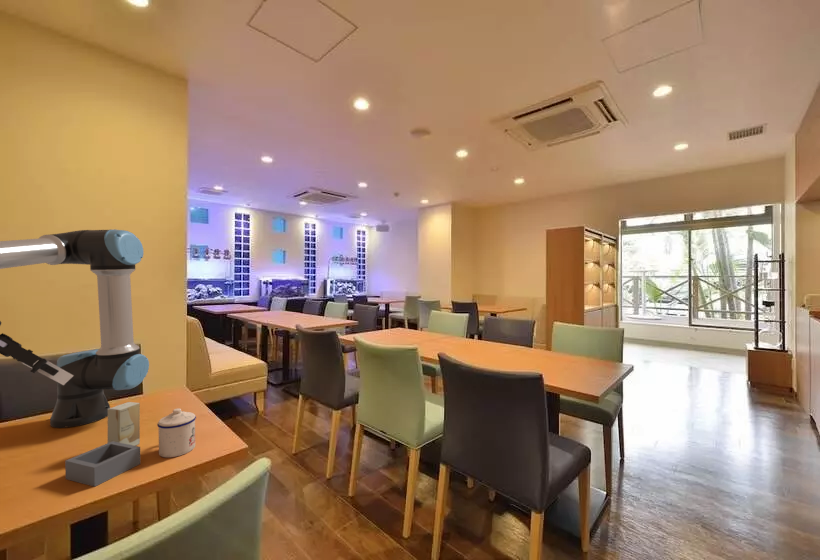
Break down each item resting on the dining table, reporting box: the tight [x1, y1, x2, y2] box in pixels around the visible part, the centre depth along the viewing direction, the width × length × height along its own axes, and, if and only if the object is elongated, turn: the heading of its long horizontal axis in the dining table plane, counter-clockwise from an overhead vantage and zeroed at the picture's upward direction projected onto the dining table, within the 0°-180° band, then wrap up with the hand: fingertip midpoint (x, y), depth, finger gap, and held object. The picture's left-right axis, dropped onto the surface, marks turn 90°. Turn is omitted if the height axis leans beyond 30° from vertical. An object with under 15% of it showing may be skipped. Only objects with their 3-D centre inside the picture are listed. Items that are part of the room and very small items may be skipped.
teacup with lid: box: [157, 408, 197, 458], centre depth 101 cm, size 12×9×12 cm
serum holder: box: [64, 441, 141, 488], centre depth 89 cm, size 10×10×4 cm
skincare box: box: [107, 401, 141, 446], centre depth 101 cm, size 6×4×12 cm
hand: (60, 376), depth 91 cm, fingers open, 13 cm apart
